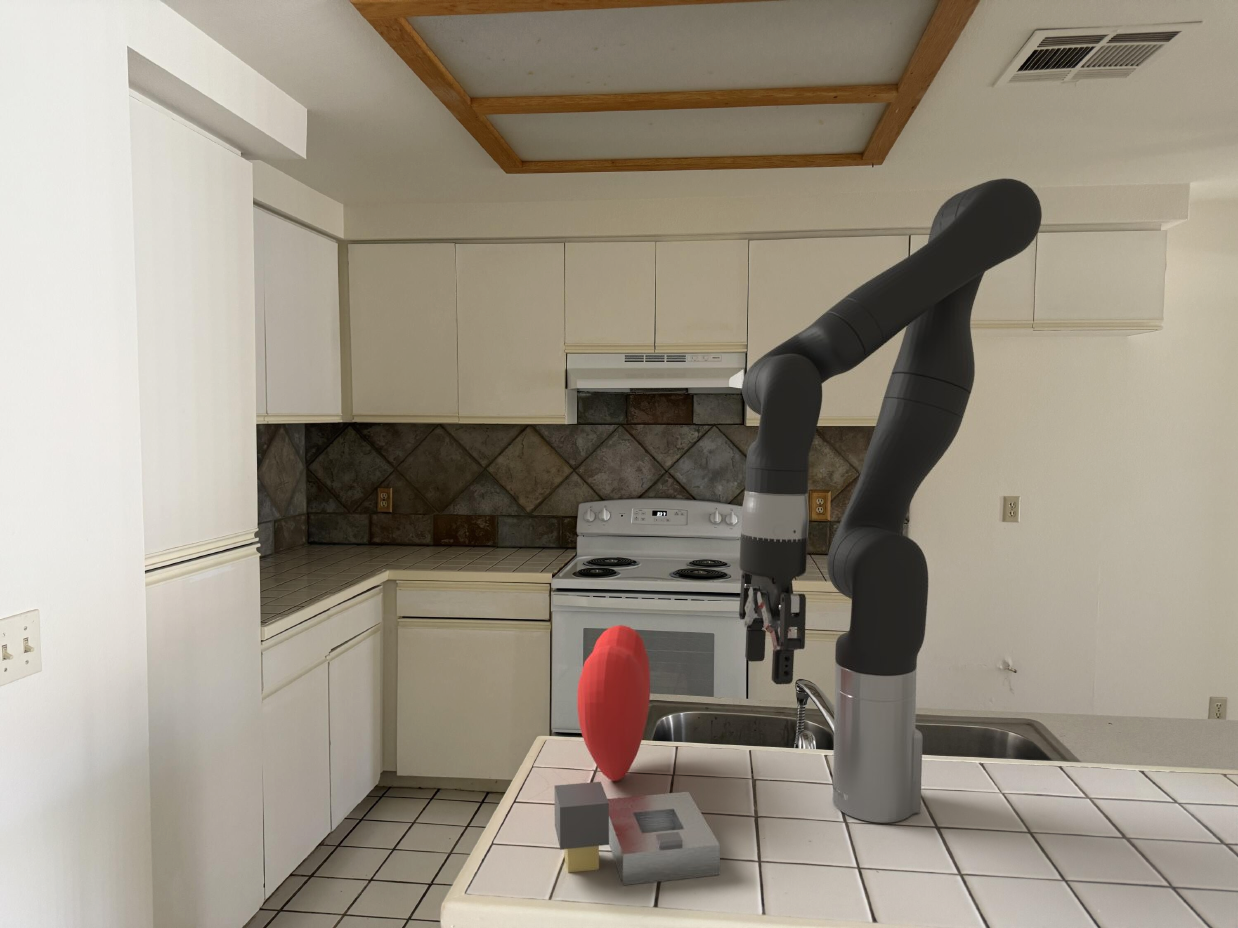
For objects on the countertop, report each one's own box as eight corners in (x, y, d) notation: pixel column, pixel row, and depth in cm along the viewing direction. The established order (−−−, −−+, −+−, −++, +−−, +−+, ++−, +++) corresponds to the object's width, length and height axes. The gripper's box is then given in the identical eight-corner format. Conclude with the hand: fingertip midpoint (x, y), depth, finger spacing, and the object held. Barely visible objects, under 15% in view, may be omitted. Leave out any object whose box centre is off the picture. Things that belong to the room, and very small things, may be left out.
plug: (600, 847, 92) (600, 781, 91) (608, 872, 87) (608, 802, 86) (554, 852, 91) (554, 785, 90) (560, 877, 86) (560, 807, 85)
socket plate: (688, 818, 98) (688, 785, 98) (719, 874, 86) (719, 837, 86) (603, 826, 96) (603, 793, 96) (623, 884, 85) (623, 847, 84)
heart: (640, 820, 98) (640, 660, 96) (566, 815, 99) (566, 657, 98) (655, 749, 118) (656, 617, 116) (594, 746, 119) (594, 615, 117)
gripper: (832, 541, 90) (824, 690, 91) (781, 523, 104) (775, 652, 105) (765, 541, 89) (758, 693, 90) (722, 522, 103) (717, 654, 104)
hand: (767, 671), depth 97 cm, fingers open, 8 cm apart
